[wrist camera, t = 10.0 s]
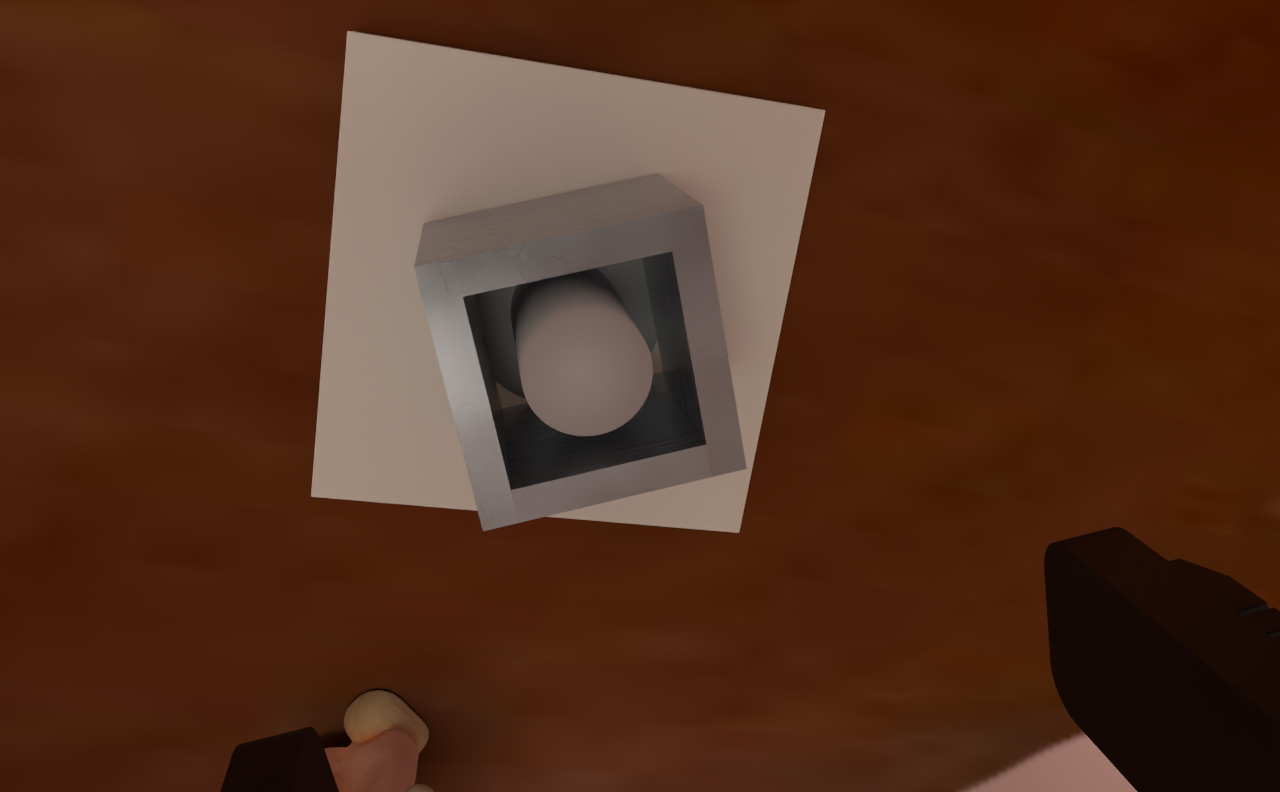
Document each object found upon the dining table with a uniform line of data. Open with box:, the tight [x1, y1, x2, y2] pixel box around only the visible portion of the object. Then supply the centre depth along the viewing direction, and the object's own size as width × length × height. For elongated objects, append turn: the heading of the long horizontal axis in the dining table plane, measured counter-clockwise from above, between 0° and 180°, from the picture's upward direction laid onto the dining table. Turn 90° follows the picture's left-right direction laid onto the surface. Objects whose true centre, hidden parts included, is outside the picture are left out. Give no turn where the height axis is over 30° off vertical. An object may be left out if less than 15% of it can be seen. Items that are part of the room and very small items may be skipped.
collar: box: [414, 174, 747, 531], centre depth 26 cm, size 6×6×6 cm
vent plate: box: [311, 31, 825, 533], centre depth 27 cm, size 12×12×8 cm
